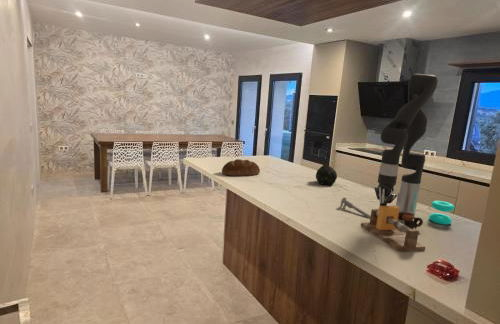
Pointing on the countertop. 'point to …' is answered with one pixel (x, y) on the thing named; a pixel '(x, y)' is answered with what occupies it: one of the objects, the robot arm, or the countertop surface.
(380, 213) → the collar
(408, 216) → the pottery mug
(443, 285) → the countertop surface
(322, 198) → the countertop surface
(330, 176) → the squash
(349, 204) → the caliper
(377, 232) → the pipe stand
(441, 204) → the donuts
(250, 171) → the bread
